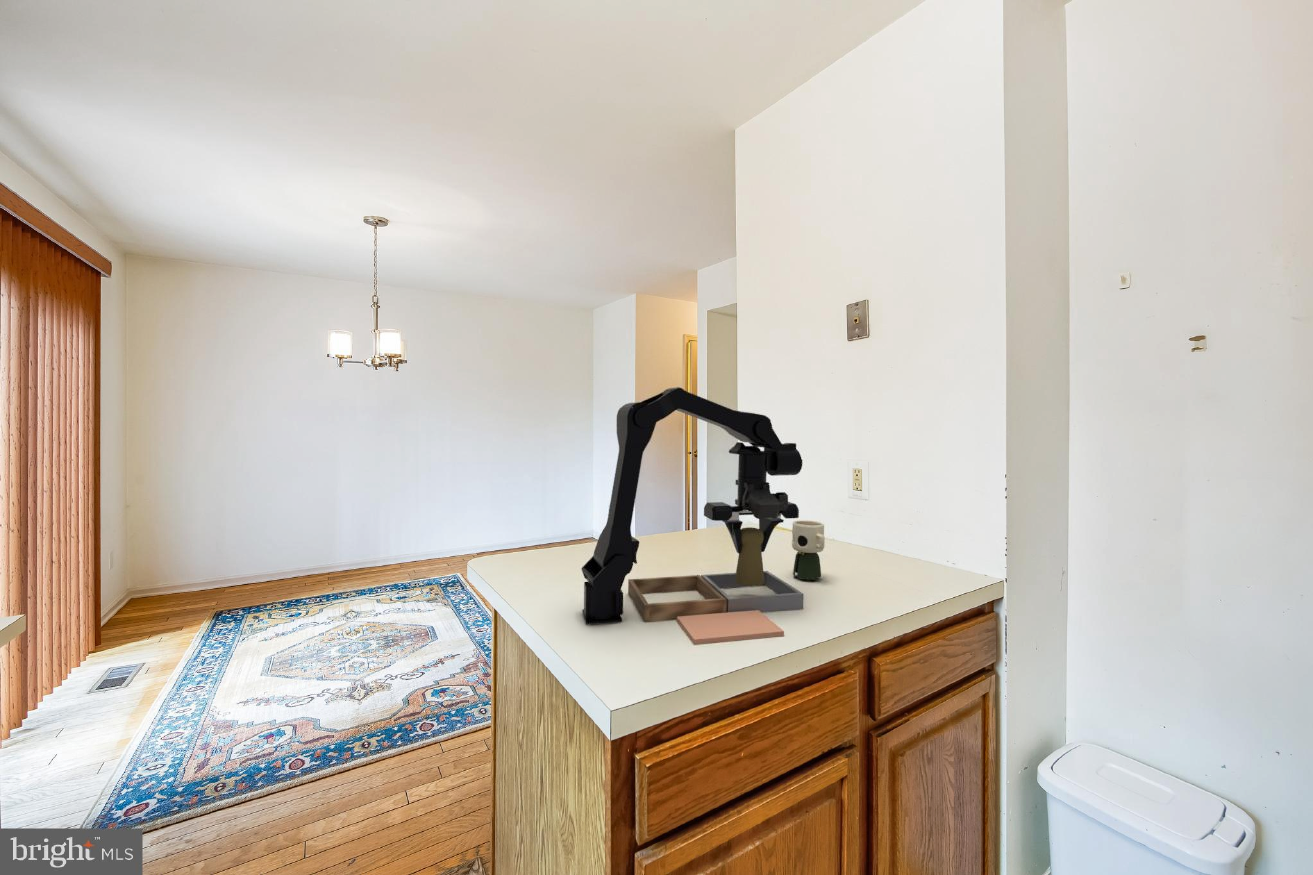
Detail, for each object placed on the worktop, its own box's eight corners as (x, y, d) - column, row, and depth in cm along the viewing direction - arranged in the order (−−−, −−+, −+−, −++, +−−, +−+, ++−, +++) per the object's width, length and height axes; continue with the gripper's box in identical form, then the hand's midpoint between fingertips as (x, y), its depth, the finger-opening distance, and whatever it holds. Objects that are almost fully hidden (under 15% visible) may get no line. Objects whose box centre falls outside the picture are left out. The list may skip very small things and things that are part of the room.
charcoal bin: (728, 615, 96) (728, 599, 96) (700, 588, 112) (701, 574, 111) (803, 608, 100) (803, 593, 100) (767, 584, 115) (767, 570, 115)
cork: (764, 587, 102) (766, 532, 102) (734, 584, 103) (735, 530, 103) (764, 578, 108) (765, 526, 108) (735, 576, 109) (736, 524, 109)
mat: (694, 644, 84) (694, 639, 84) (676, 620, 93) (676, 616, 93) (784, 635, 87) (784, 631, 87) (758, 614, 97) (758, 609, 97)
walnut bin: (644, 622, 92) (644, 605, 92) (628, 593, 108) (628, 579, 108) (726, 615, 96) (726, 599, 96) (699, 588, 111) (699, 574, 111)
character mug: (780, 573, 124) (781, 519, 123) (804, 570, 127) (805, 517, 126) (809, 587, 114) (810, 528, 113) (835, 583, 116) (836, 526, 116)
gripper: (723, 481, 95) (721, 565, 95) (814, 480, 100) (812, 560, 100) (703, 475, 106) (702, 550, 106) (786, 474, 110) (784, 546, 111)
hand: (750, 552), depth 106 cm, fingers closed on cork, 5 cm apart
